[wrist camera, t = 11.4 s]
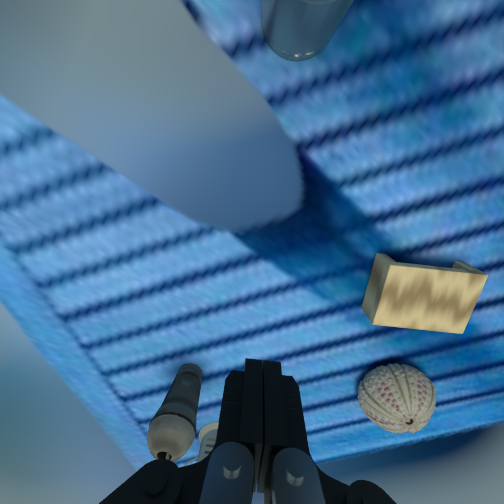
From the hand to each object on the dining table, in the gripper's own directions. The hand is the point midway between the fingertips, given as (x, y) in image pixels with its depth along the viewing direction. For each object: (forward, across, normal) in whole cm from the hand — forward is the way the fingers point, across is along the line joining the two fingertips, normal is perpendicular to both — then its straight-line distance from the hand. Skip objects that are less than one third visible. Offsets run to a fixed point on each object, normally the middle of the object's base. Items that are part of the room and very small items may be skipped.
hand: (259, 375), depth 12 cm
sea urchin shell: (+32, -28, +30) cm, 52 cm away
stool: (+30, -19, +9) cm, 36 cm away
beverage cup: (+32, +10, +32) cm, 47 cm away
